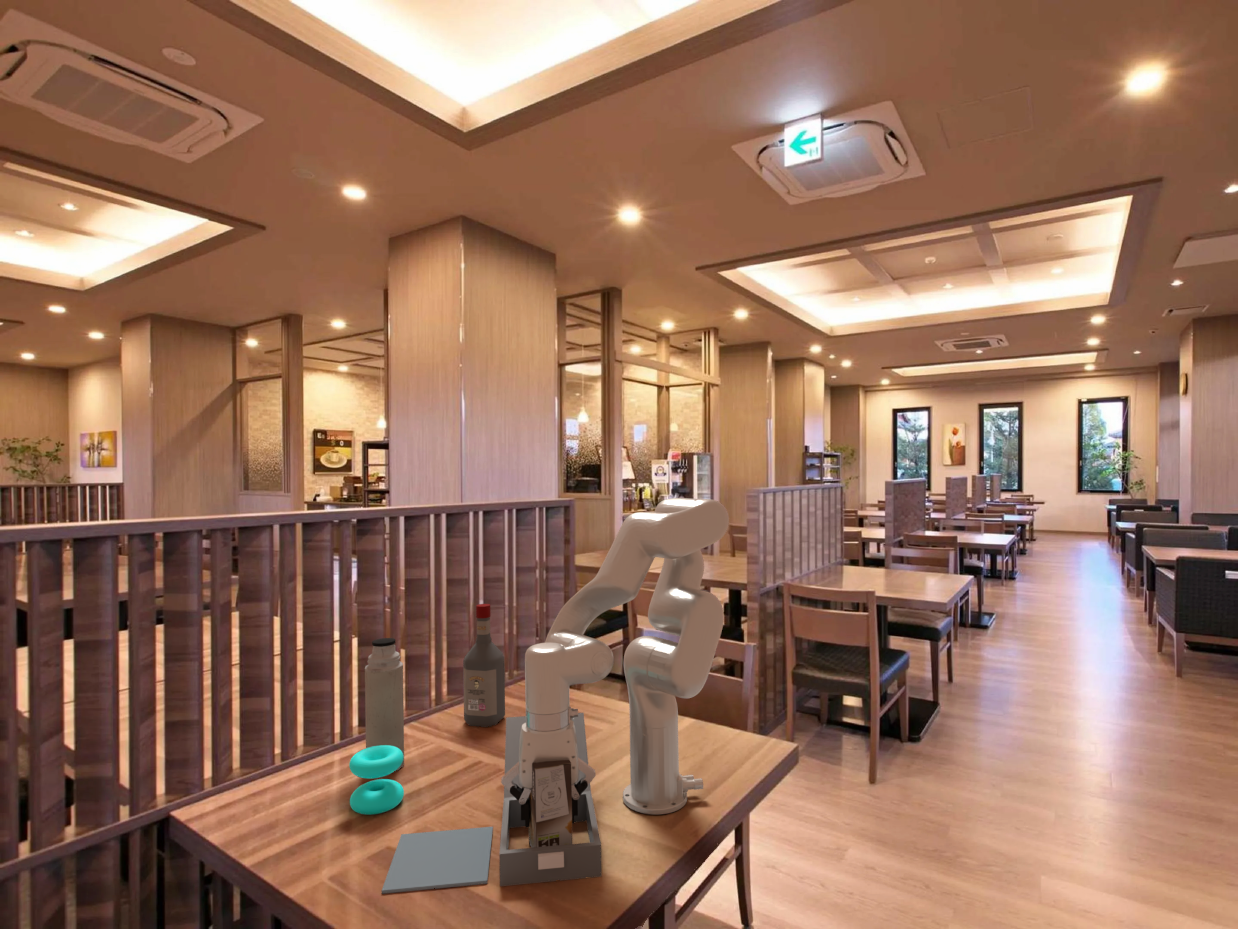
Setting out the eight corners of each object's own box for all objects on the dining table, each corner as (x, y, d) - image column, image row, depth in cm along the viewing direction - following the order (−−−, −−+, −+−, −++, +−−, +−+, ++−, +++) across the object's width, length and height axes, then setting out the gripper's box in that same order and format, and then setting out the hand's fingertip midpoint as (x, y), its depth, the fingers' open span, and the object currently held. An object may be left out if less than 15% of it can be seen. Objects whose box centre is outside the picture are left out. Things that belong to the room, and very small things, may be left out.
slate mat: (492, 829, 120) (492, 826, 120) (487, 883, 105) (487, 880, 105) (401, 837, 118) (401, 834, 118) (381, 893, 102) (381, 890, 102)
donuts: (337, 761, 127) (370, 740, 136) (338, 814, 127) (371, 789, 136) (383, 767, 124) (413, 745, 134) (383, 820, 124) (414, 795, 134)
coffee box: (574, 860, 110) (572, 763, 111) (536, 867, 109) (534, 769, 109) (562, 831, 119) (560, 742, 119) (526, 838, 117) (525, 747, 117)
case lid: (590, 791, 124) (590, 794, 124) (583, 712, 139) (583, 715, 140) (503, 798, 122) (504, 801, 122) (506, 717, 137) (506, 720, 138)
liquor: (493, 728, 168) (492, 609, 168) (460, 725, 170) (459, 608, 170) (508, 715, 177) (506, 602, 177) (476, 712, 179) (474, 601, 179)
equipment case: (591, 818, 124) (590, 791, 124) (602, 879, 105) (601, 847, 105) (504, 825, 122) (503, 798, 122) (499, 889, 103) (499, 857, 103)
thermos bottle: (373, 759, 151) (371, 635, 151) (408, 758, 151) (407, 634, 151) (360, 775, 143) (359, 644, 143) (398, 774, 143) (396, 644, 143)
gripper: (596, 706, 119) (597, 806, 119) (497, 713, 117) (499, 815, 116) (600, 722, 111) (602, 829, 111) (495, 729, 109) (497, 838, 109)
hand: (549, 821), depth 114 cm, fingers closed on coffee box, 7 cm apart
